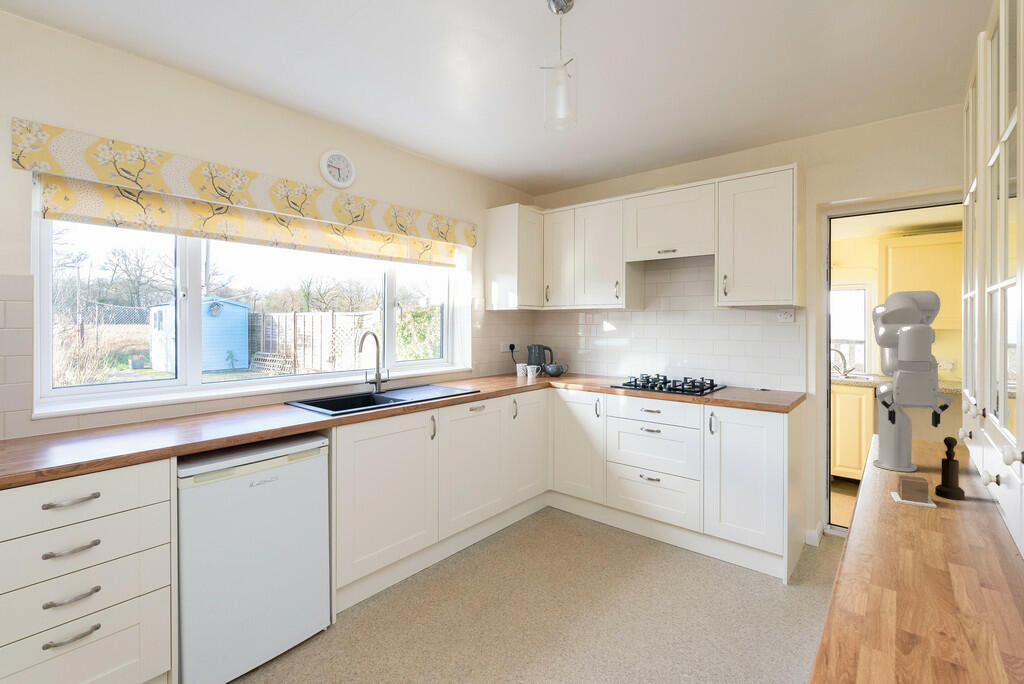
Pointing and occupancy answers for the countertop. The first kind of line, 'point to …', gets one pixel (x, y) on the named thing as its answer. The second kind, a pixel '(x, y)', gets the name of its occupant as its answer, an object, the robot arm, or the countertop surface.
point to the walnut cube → (913, 488)
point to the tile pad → (898, 499)
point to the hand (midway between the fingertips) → (913, 424)
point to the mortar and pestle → (950, 474)
